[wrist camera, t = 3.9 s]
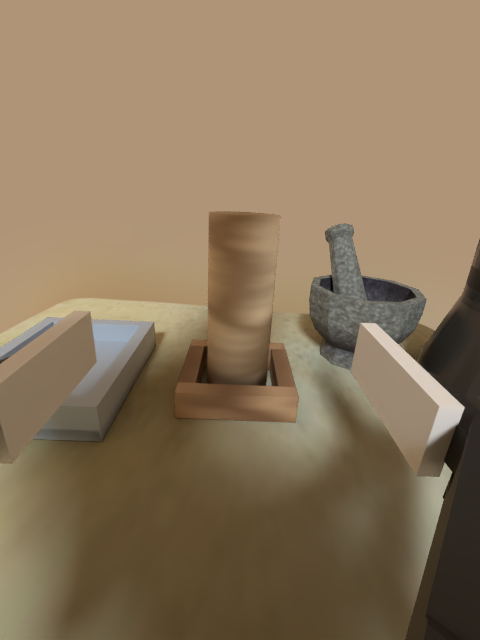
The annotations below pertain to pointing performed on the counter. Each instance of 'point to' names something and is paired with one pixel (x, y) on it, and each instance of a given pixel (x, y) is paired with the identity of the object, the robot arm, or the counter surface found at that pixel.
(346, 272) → the mortar and pestle
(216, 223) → the dowel
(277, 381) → the socket block
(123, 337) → the tray
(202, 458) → the counter surface
